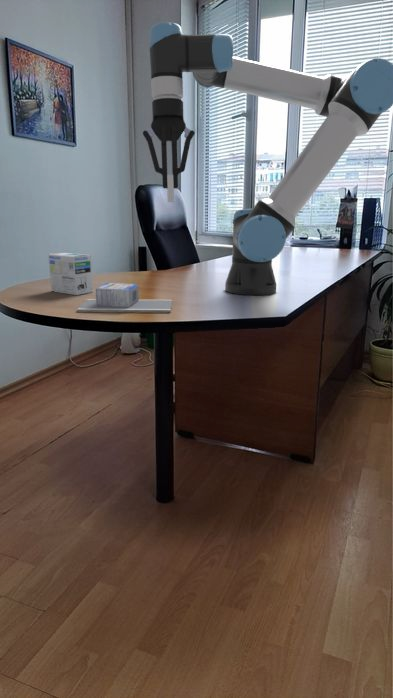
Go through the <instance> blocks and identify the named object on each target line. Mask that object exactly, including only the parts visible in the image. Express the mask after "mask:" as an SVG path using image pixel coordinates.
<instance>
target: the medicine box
mask: <svg viewBox="0 0 393 698" xmlns="http://www.w3.org/2000/svg"><path fill="white" fill-rule="evenodd" d="M139 293H140V291H139V284H137V283H136V284H135V283H134V284H133V283H117V282H106V283H104V284H102V285H100V286H98V287H95V299H96V304H97V306H112V307H130V306H131V305H133V304H134V303H136V302H137V301H139V300H140V294H139Z"/></svg>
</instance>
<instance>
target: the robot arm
mask: <svg viewBox="0 0 393 698" xmlns="http://www.w3.org/2000/svg"><path fill="white" fill-rule="evenodd" d="M233 39H234V38H233V37H232V35H230V34H226V33H225V34H224V33H223V34H222V33H212V34H211V33H209V34H207V33H205V34H183V31H182V27H181V25H179V24H178V23H175V22H169V21H163V22H161V21H160V22H158V23H155V24H154V25H152V26H151V27H150V29H149V48H148V49H149V59H150V82H151V85H150V86H151V87H150V88H151V98H152V99H153V100H152V102H151V108H152V109H151V110H152V121H151V124H150V127H148V128H147V129H146V130H143V131H142V136H143V138H144V139H145V141H146V142H147V146H148V149H149V153H150V156H151V161H152V164H153V168H154V171H155V172H156V173H158V174H160V175H161V176H162V177H161V178H162V188H163V189H167V190H166V191H167V192H166V193H167V203H175V196H174V195H175V191H174V190H175V189H178V186H179V177H178V176H179V174H181V173H183V172H184V171H185V170H186V165H187V159H188V157H189V156H188V155H189V150H190V146H191V141H192V139H193V137H194V136H195V131H194V130H191V129H190V128H188V127H187V124H186V122H185V120H184V119H185V118H184V101H183V100H182V99H183V97H184V87H183V84H184V82H183V78H184V77H183V73H192V75H193V78H194V80H195V81H196V83H197V84H198V85H199V86H200V87H202V88H207V89H209V88H212V87H216V88H221V89H227V90H228V91H229V90H230V91H234V92H239V93H243V94H246V95H247V94H248V95H251V96H256V97H260V98H264V99H268V100H273V101H277V102H282V103H285V104H290V105H294V106H298V107H301V108H302V107H303V108H308V109H312V110H314V112H315V113H316V115H318V116H322V117H326V118H325V119H324V120H323V122H322V123H321V125H320V126H319V128H318V129H317V130H316V131H315V133H314V134H313V136H312V137H311V139H310V140H309V141H308V142H307V144H305V147H303V150H302V151H301V152H300V154H298V156H297V158H296V159H295V160H294V162H293V163H292V164H291V166H290V167H289V168H288V170H287V171H286V173H285V174H284V176H283V177H282V178H281V180H280V181H279V182H278V183H277V185H276V187H275V188H274V189H273V190H272V192H271V193H270V194H269V196H268V197H265V198H260V199H259V200H257V202H256V204H255V205H254V206H253V208H244V209H238V210H236V211H235V212H234V214H233V219H232V225H233V226H232V227H233V228H232V229H233V230H232V253H231V254H232V255H231V265H230V269H229V271H228V275H227V277H226V280H225V284H224V285H225V286H224V287H225V288H224V290H225V292H227V293H230V294H237V295H244V296H245V295H246V296H249V295H250V296H263V295H271V294H275V293H276V292H277V281H276V276H275V274H274V268H273V264H272V262H273V259H275V258H277V257H278V256H279V255H280V254H281V252H282V251H283V249H284V247H285V244H286V241H287V239H288V238H289V236H290V235H291V234H292V232H293V231H294V230H295V228H296V226H297V225H296V217H297V215H298V214H300V212H301V210H302V209H303V208H304V207H305V205H306V204H307V203H308V201H309V200H310V199H311V197H312V196H313V194H314V193H315V192H316V191H317V190H318V188H319V187H320V185H322V183H323V181H324V180H325V178H326V177H327V176H328V175H329V174H330V172H331V170H333V168H334V167H335V165H336V164H337V163H338V162H339V160H340V159H341V158H342V156H343V155H344V154H345V152H346V151H347V149H348V148H349V147H350V146H351V144H352V143H353V142H354V140H355V139H356V137H357V136H358V137H359V136H363V135H366V134H367V133H368V132H369V130H370V129H371V128H372V127H373V126H374V125H375V123H376V122H377V120H378V119H379V117H380V116H381V115H382V114H383V113H384V112H387V111H389V110H390V108H392V106H393V63H392V62H390V61H389V60H387V59H385V58H379V57H378V58H377V57H375V58H370V59H368V60H365V61H363V62H360V64H359V65H357V66H356V67H355V69H354V70H352V71H351V72H350V73H349V74H348V75H333V74H329V73H328V74H326V75H325V76H324V77H322V76H318V75H314V74H309V73H307V72H305V73H304V72H302V71H300V72H299V71H297V70H293V69H288V68H285V67H280V66H275V65H270V64H268V63H262V62H258V61H253V60H249V59H245V58H241V57H237V56H234V40H233ZM183 133H184V138H185V140H184V144H183V149H182V154H181V160H180V165H179V166H178V140H179V139H180V138H181V136H182V135H183ZM154 134H155V136H156V137H157V138H158V140H159V141H160V149H161V150H160V151H161V167H160V164H159V161H158V157H157V152H156V149H155V144H154V141H153V136H154ZM168 142H169V143H171V168H172V169H171V171H172V173H171V174H168V155H167V154H168V153H167V150H168V149H167V147H168V146H167V143H168Z"/></svg>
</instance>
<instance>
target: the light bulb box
mask: <svg viewBox="0 0 393 698" xmlns="http://www.w3.org/2000/svg"><path fill="white" fill-rule="evenodd" d="M48 264H49V267H48V268H49V276H50V278H49V279H50V289H51V290H50V291H51V292H52V291H54V293H60V294H66V295H73V296H78V295H84V294H89V293H93V292H94V285H93V280H94V279H93V265H92V254H84V253H83V254H81V253H73V252H72V253H71V252H58V253H56V252H55V253H48Z"/></svg>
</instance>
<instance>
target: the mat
mask: <svg viewBox="0 0 393 698" xmlns="http://www.w3.org/2000/svg"><path fill="white" fill-rule="evenodd" d="M172 304H173V300H172V299H139V301H137V302H136V303H134V304H133V305H131V306H130V307H112V306H97V304H96V298H93V299H92V298H90V299H89V298H86V299H85V301H84V302H83V303H82V304H81V305H80V306H79V307H78V308H76V311H77V313H134V314H135V313H136V314H137V313H138V314H139V313H142V314H143V313H150V314H152V313H154V314H158V313H159V314H161V313H162V314H163V313H164V314H166V313H167V314H168V313H169V314H170V313H171V312H172Z"/></svg>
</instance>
